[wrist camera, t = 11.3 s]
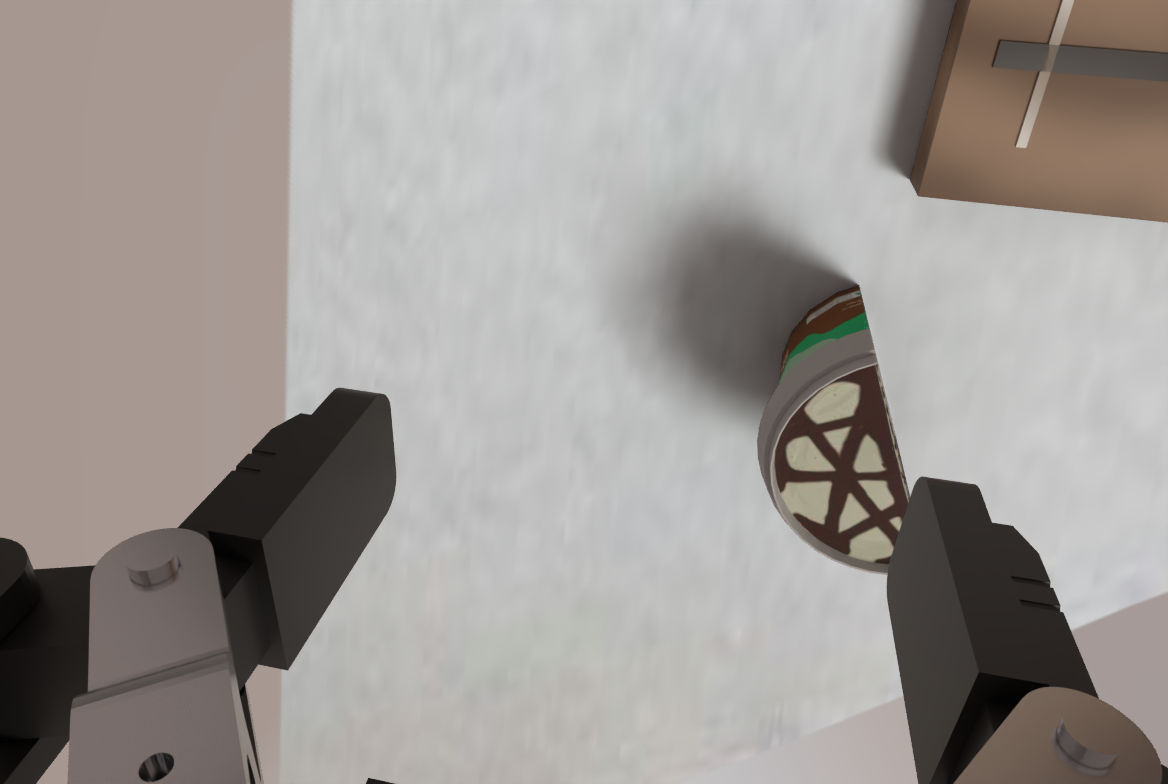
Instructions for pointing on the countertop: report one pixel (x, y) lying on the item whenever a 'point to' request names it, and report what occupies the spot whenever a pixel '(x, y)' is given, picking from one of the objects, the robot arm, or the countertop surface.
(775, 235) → the countertop surface
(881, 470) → the food container
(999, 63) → the fader console
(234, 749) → the robot arm
